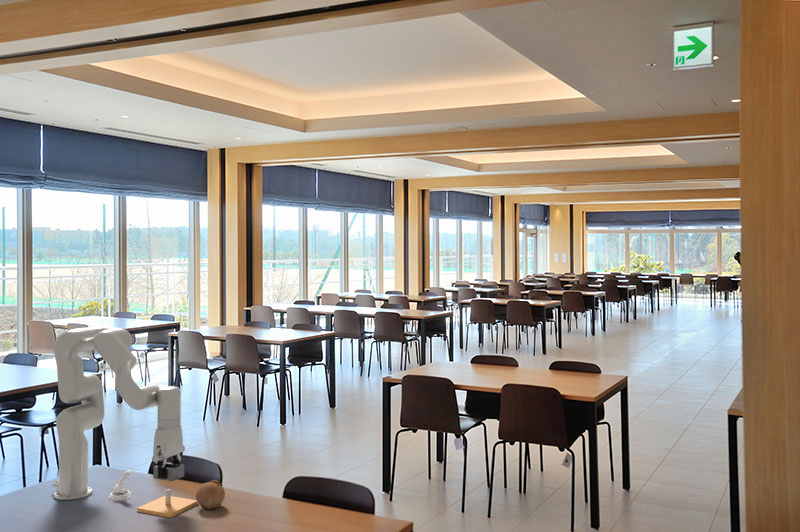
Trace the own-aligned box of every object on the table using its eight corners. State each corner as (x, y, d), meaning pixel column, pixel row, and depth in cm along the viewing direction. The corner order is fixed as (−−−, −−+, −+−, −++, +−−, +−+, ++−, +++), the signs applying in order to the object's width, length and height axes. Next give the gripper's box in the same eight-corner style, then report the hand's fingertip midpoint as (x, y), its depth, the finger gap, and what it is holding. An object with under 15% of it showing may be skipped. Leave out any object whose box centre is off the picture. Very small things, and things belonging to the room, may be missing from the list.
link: (153, 478, 234) (153, 466, 234) (165, 473, 240) (165, 462, 240) (172, 481, 231) (172, 469, 231) (184, 476, 237) (184, 464, 237)
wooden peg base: (137, 511, 232) (137, 493, 232) (165, 498, 245) (165, 481, 245) (170, 517, 226) (170, 499, 226) (197, 504, 239) (198, 486, 239)
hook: (140, 486, 242) (122, 476, 240) (121, 512, 243) (103, 502, 242) (145, 475, 249) (128, 465, 248) (127, 500, 251) (110, 490, 249)
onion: (217, 512, 240) (228, 484, 243) (218, 514, 231) (230, 484, 235) (191, 504, 238) (202, 475, 242) (191, 505, 229) (203, 475, 233)
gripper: (177, 417, 245) (177, 467, 245) (142, 427, 229) (142, 481, 229) (194, 418, 242) (194, 469, 242) (160, 429, 226) (160, 484, 226)
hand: (168, 475), depth 236 cm, fingers closed on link, 6 cm apart
